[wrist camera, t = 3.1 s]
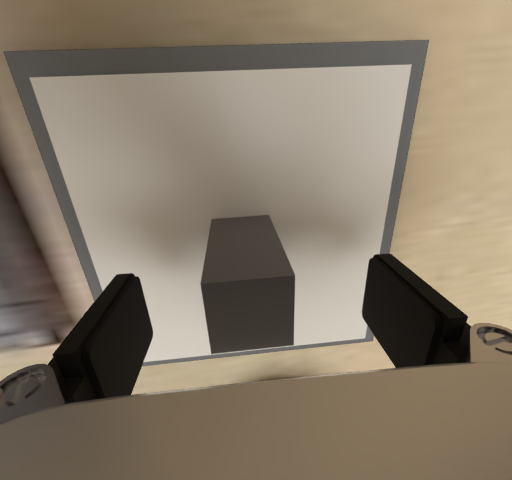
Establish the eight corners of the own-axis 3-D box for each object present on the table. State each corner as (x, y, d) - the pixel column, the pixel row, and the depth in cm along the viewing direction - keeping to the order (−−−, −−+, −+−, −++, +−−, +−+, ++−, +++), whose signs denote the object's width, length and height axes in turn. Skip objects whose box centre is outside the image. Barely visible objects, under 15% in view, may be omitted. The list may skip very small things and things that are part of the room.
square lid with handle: (39, 79, 11) (-185, 30, 5) (403, 66, 12) (573, 14, 6) (130, 356, 18) (80, 476, 12) (361, 332, 19) (423, 430, 13)
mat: (12, 54, 11) (3, 51, 11) (421, 42, 12) (428, 39, 12) (121, 362, 18) (119, 368, 18) (369, 336, 20) (372, 341, 19)
